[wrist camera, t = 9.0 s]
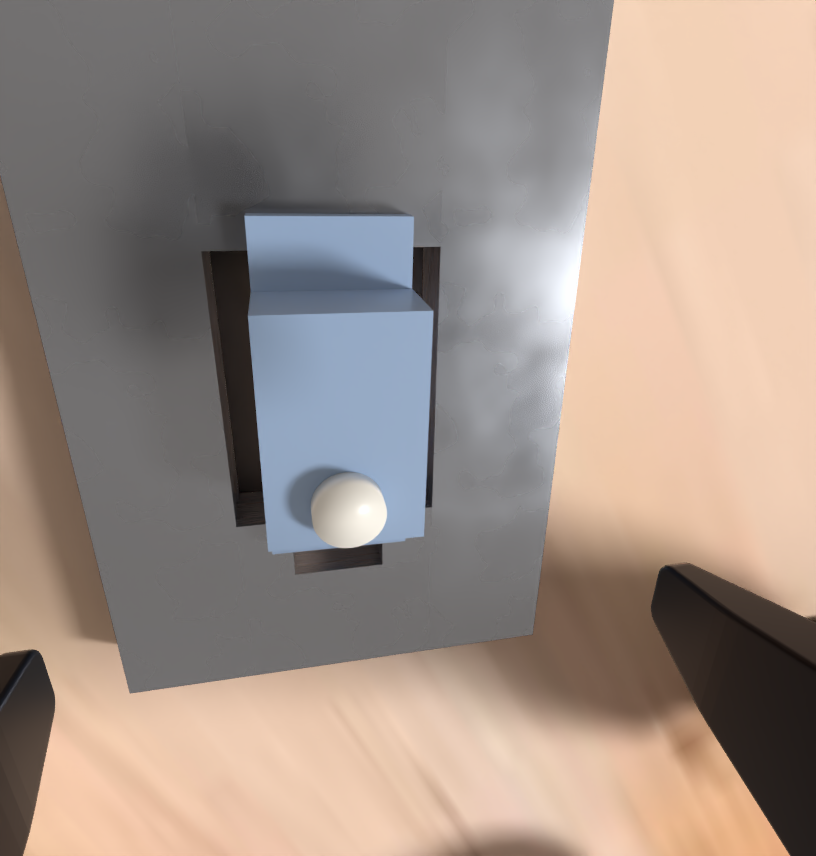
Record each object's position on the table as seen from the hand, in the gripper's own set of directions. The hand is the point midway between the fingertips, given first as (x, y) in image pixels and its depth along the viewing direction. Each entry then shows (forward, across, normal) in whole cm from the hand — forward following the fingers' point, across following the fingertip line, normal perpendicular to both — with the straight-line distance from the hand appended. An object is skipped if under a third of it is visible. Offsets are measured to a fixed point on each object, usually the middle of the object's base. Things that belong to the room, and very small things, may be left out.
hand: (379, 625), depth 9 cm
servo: (+11, 0, 0) cm, 11 cm away
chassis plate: (+11, 0, 0) cm, 11 cm away
